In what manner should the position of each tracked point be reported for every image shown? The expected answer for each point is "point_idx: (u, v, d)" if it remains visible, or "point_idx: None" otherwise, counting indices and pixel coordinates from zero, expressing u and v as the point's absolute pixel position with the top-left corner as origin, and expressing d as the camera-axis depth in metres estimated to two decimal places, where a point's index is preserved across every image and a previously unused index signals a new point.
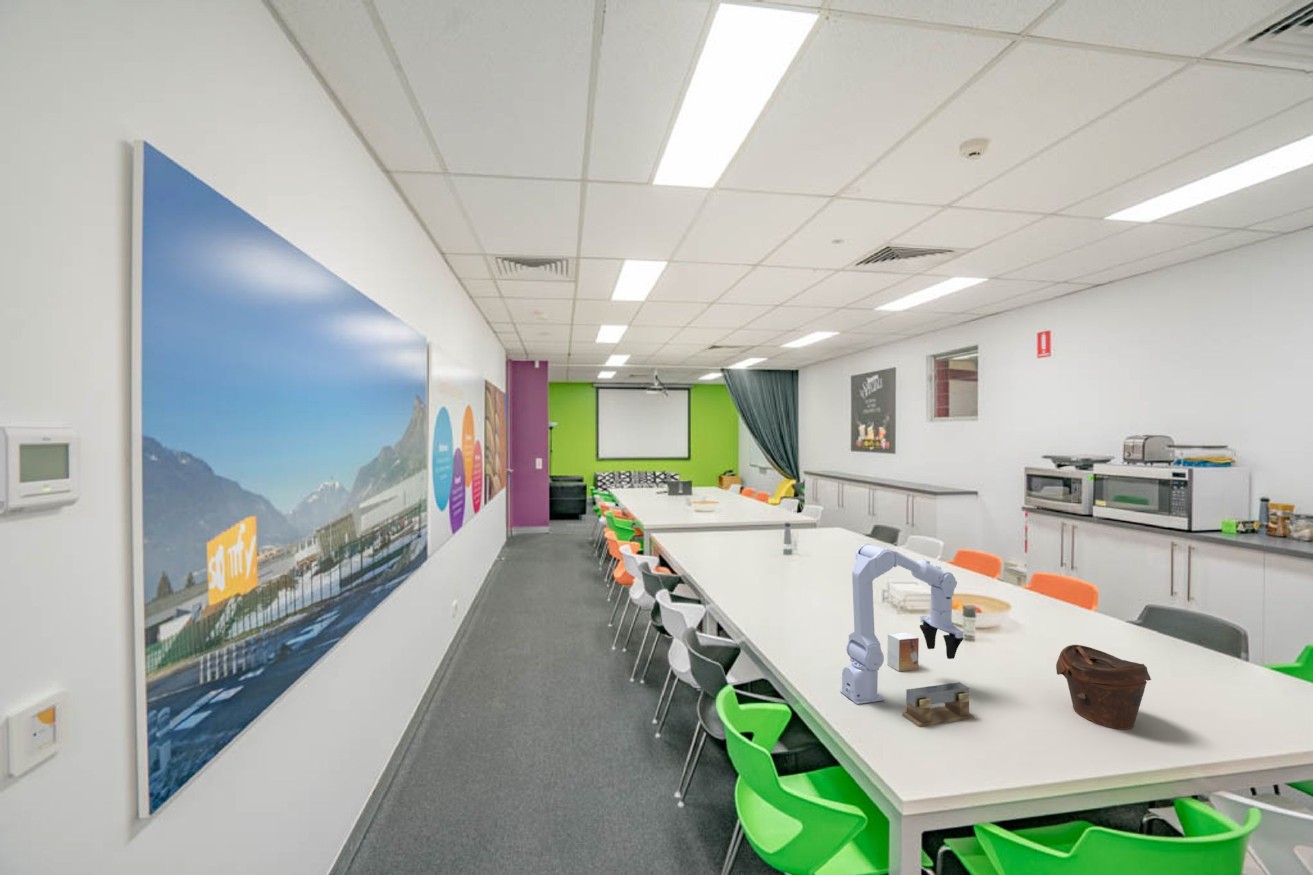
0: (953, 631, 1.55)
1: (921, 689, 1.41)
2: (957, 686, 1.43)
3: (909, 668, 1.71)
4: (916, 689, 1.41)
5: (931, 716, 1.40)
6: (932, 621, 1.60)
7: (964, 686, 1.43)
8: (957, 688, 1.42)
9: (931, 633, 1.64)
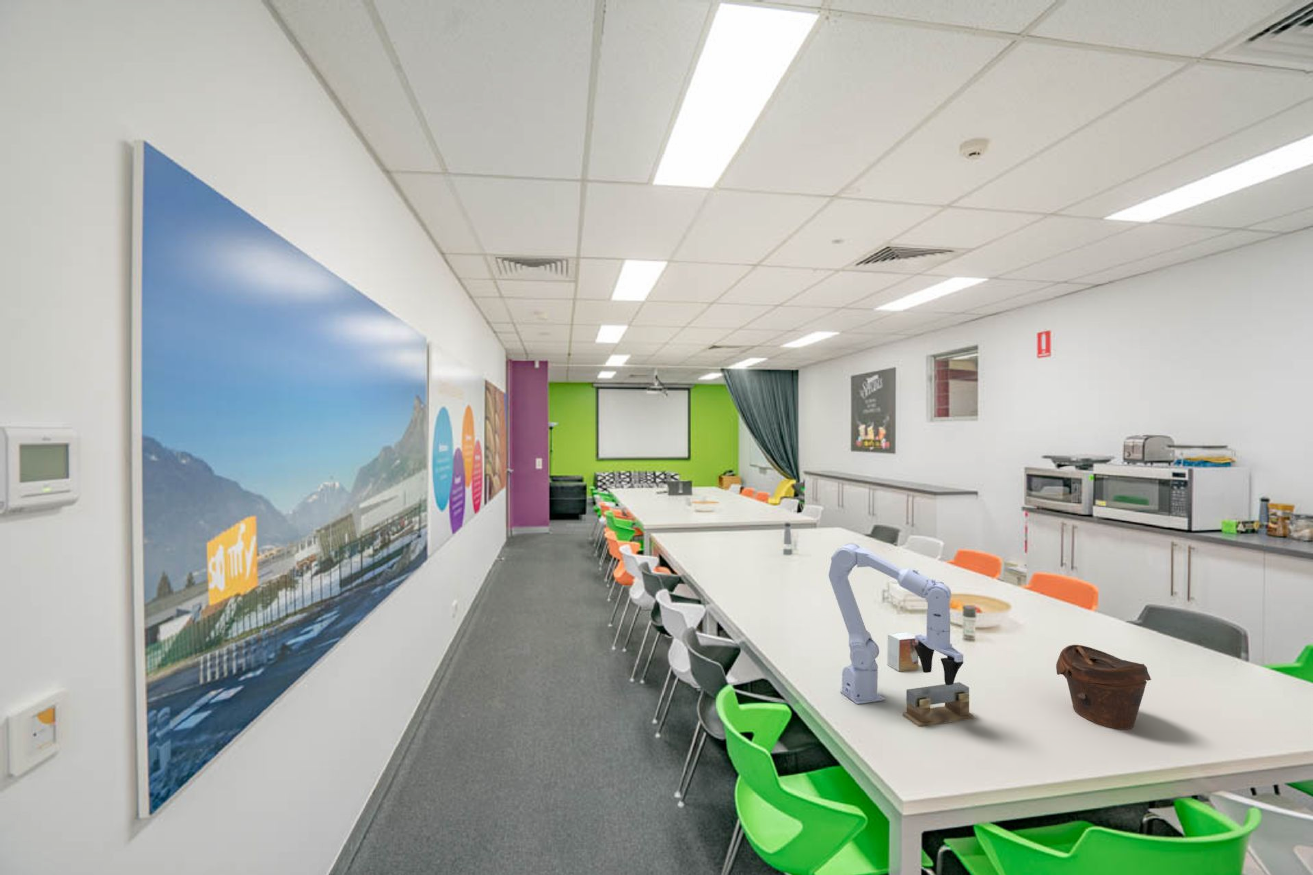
0: (952, 654, 1.36)
1: (921, 689, 1.41)
2: (957, 686, 1.43)
3: (909, 668, 1.71)
4: (916, 689, 1.41)
5: (931, 716, 1.40)
6: (928, 642, 1.42)
7: (964, 686, 1.43)
8: (957, 688, 1.42)
9: (927, 655, 1.46)
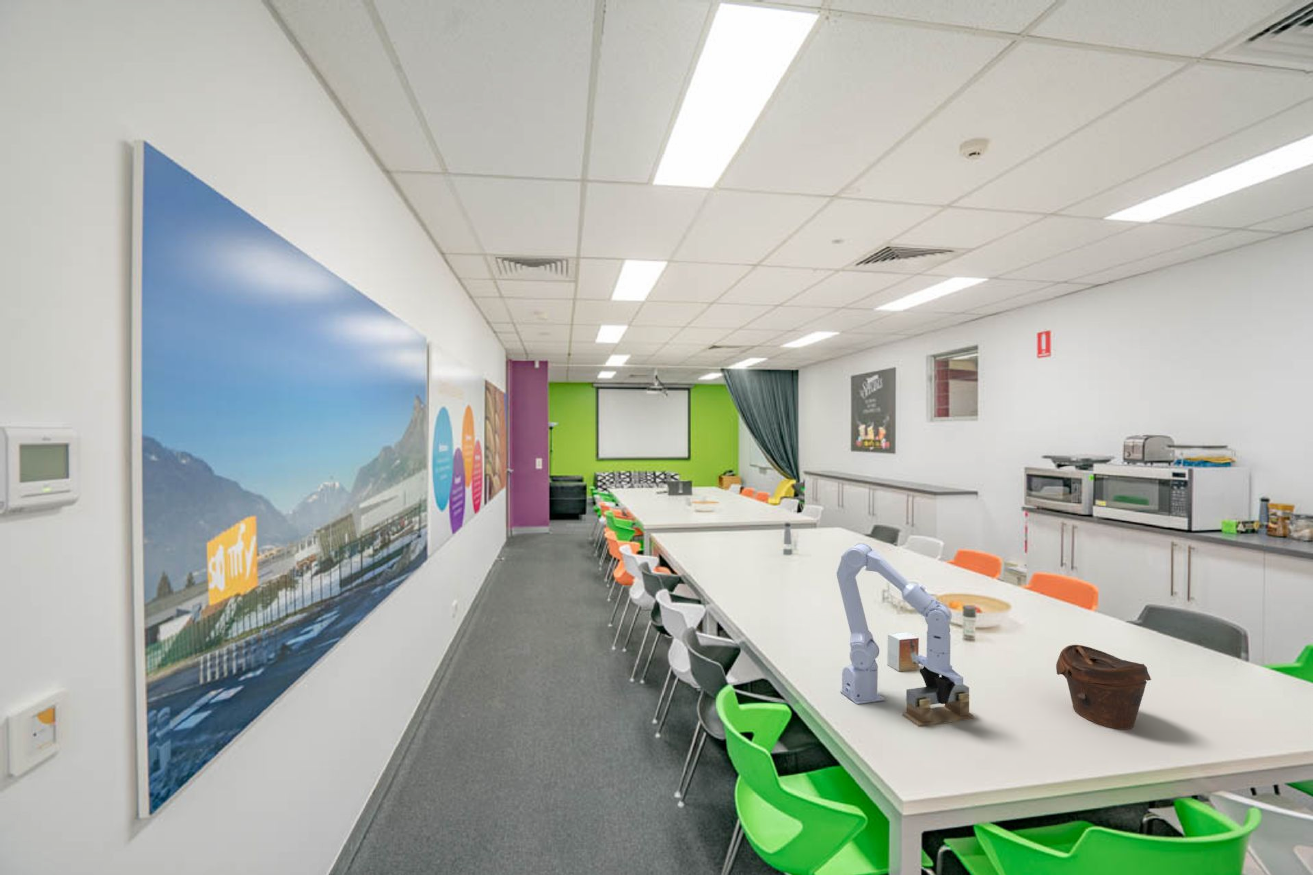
0: (952, 677, 1.36)
1: (921, 689, 1.41)
2: (957, 686, 1.43)
3: (909, 668, 1.71)
4: (916, 689, 1.41)
5: (931, 716, 1.40)
6: (928, 663, 1.42)
7: (964, 686, 1.43)
8: (957, 688, 1.42)
9: (933, 679, 1.44)
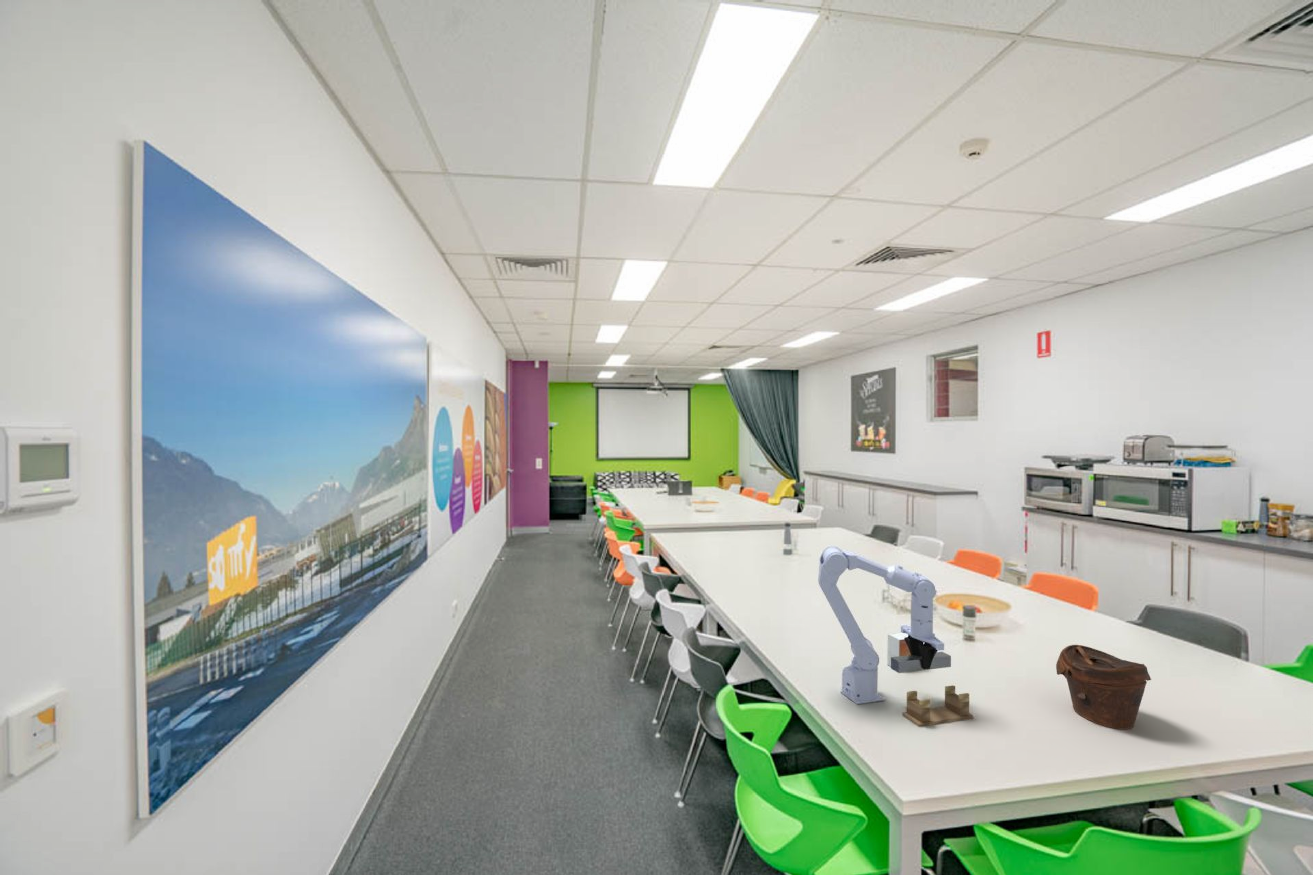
0: (933, 643, 1.44)
1: (905, 657, 1.49)
2: (939, 655, 1.51)
3: None
4: (900, 657, 1.49)
5: (931, 716, 1.40)
6: (912, 631, 1.50)
7: (946, 655, 1.51)
8: (939, 656, 1.50)
9: (916, 646, 1.52)
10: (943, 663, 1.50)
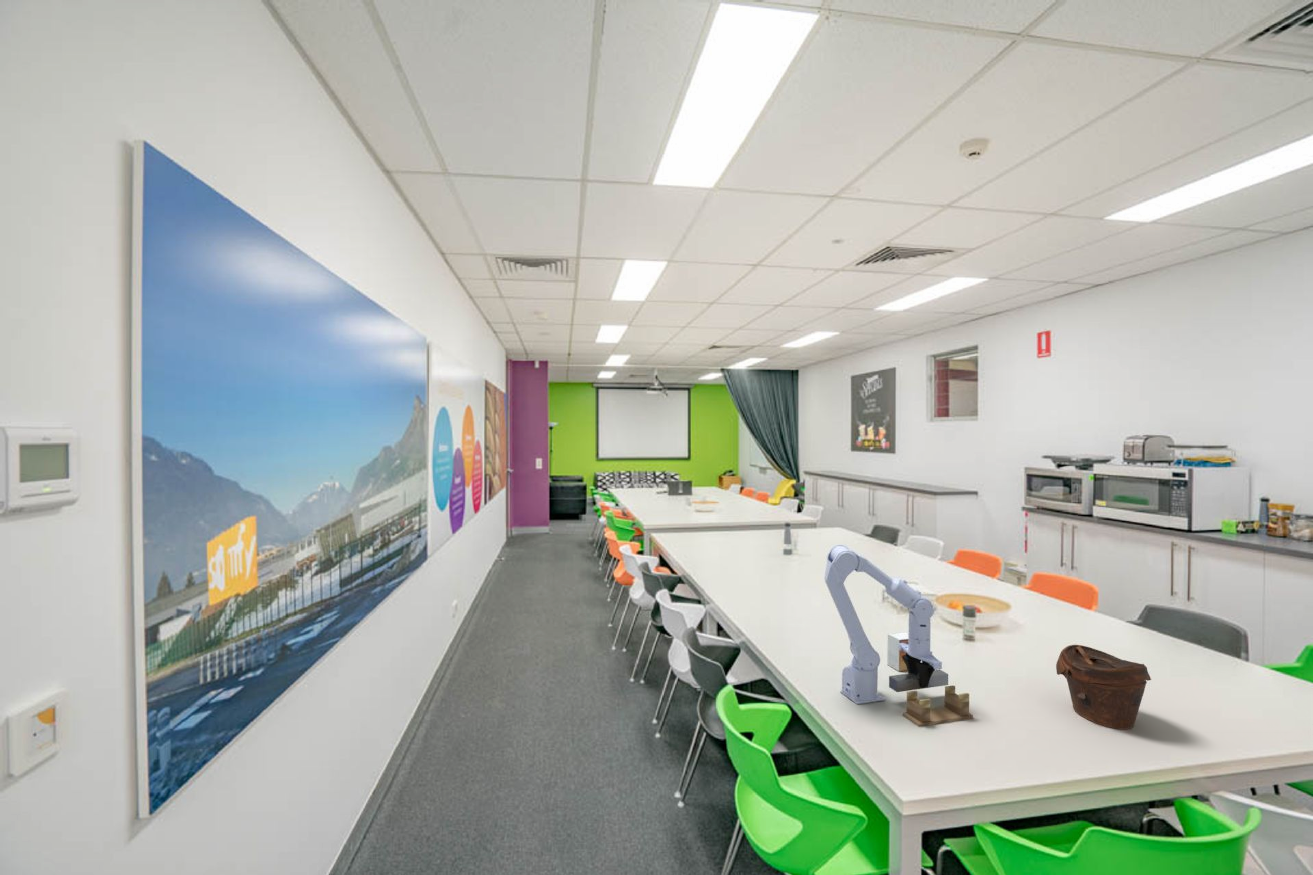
0: (931, 662, 1.45)
1: (903, 676, 1.50)
2: (937, 673, 1.52)
3: None
4: (898, 676, 1.50)
5: (931, 716, 1.40)
6: (910, 650, 1.51)
7: (944, 673, 1.52)
8: (937, 675, 1.51)
9: (914, 664, 1.53)
10: (940, 681, 1.51)
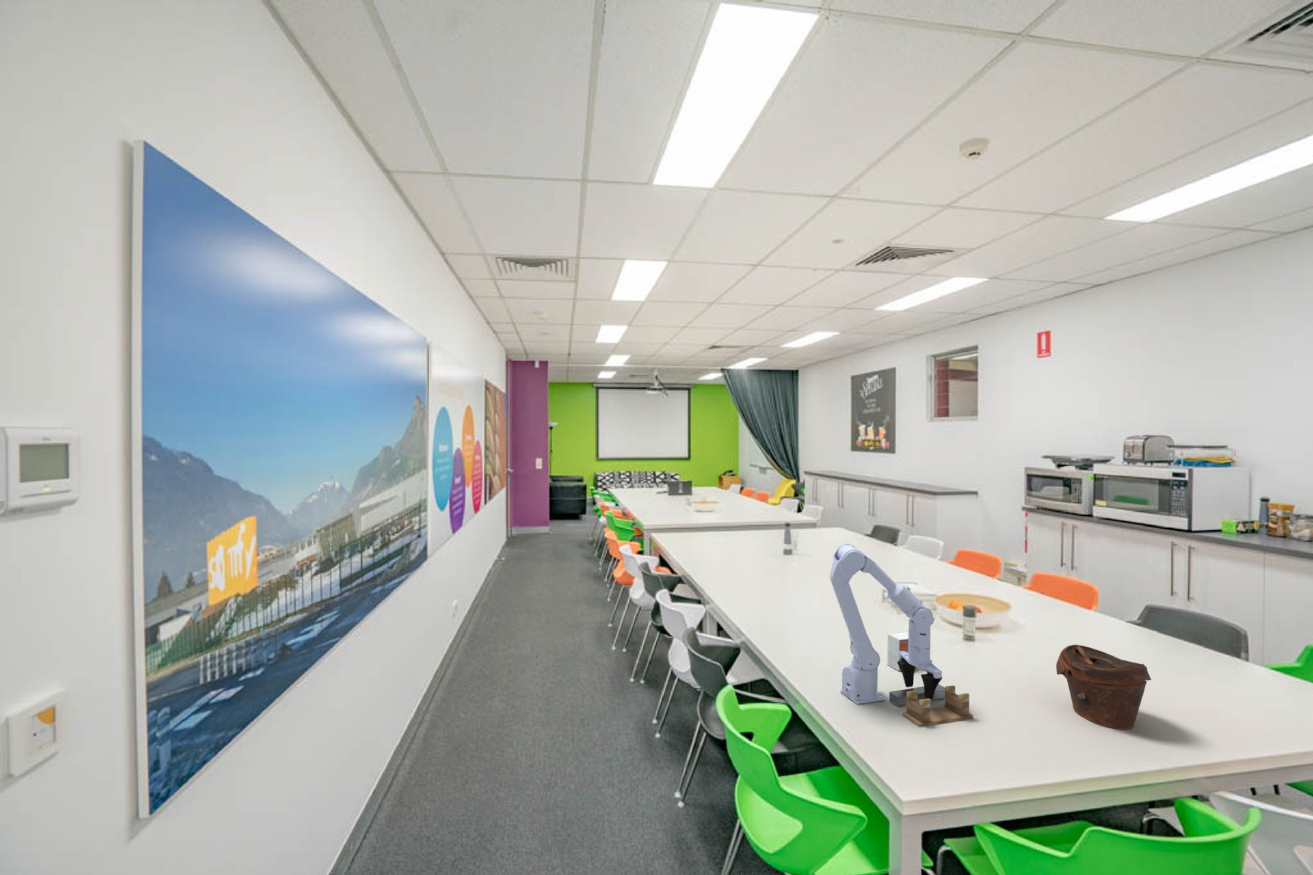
0: (931, 670, 1.45)
1: (903, 691, 1.50)
2: (936, 688, 1.53)
3: None
4: (898, 691, 1.50)
5: (931, 716, 1.40)
6: (910, 658, 1.51)
7: (943, 688, 1.52)
8: (936, 690, 1.51)
9: (909, 670, 1.55)
10: (940, 696, 1.51)
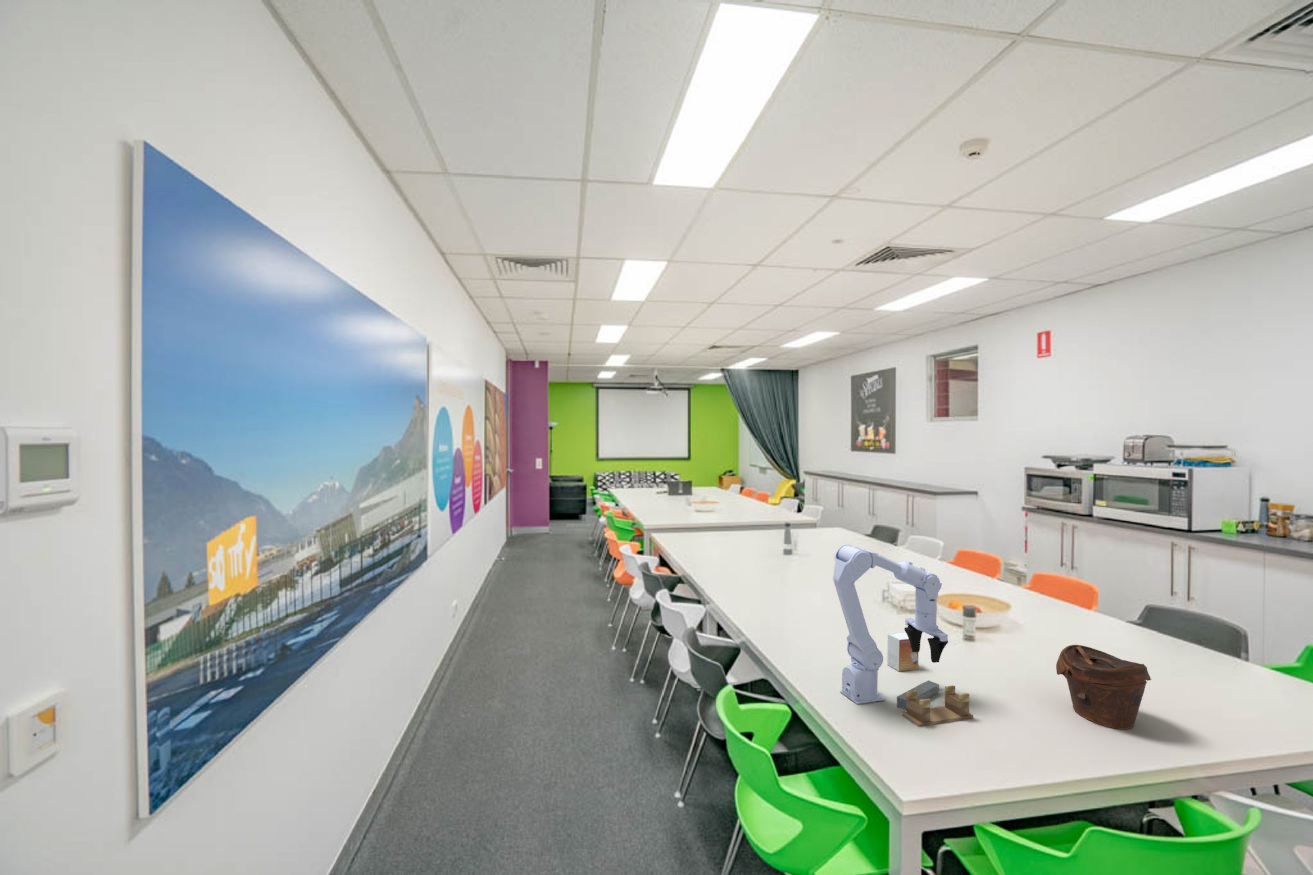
0: (937, 634, 1.51)
1: None
2: (930, 685, 1.54)
3: (909, 668, 1.71)
4: (904, 694, 1.48)
5: (931, 716, 1.40)
6: (916, 624, 1.56)
7: (935, 684, 1.55)
8: (931, 687, 1.53)
9: (916, 636, 1.60)
10: (934, 693, 1.54)
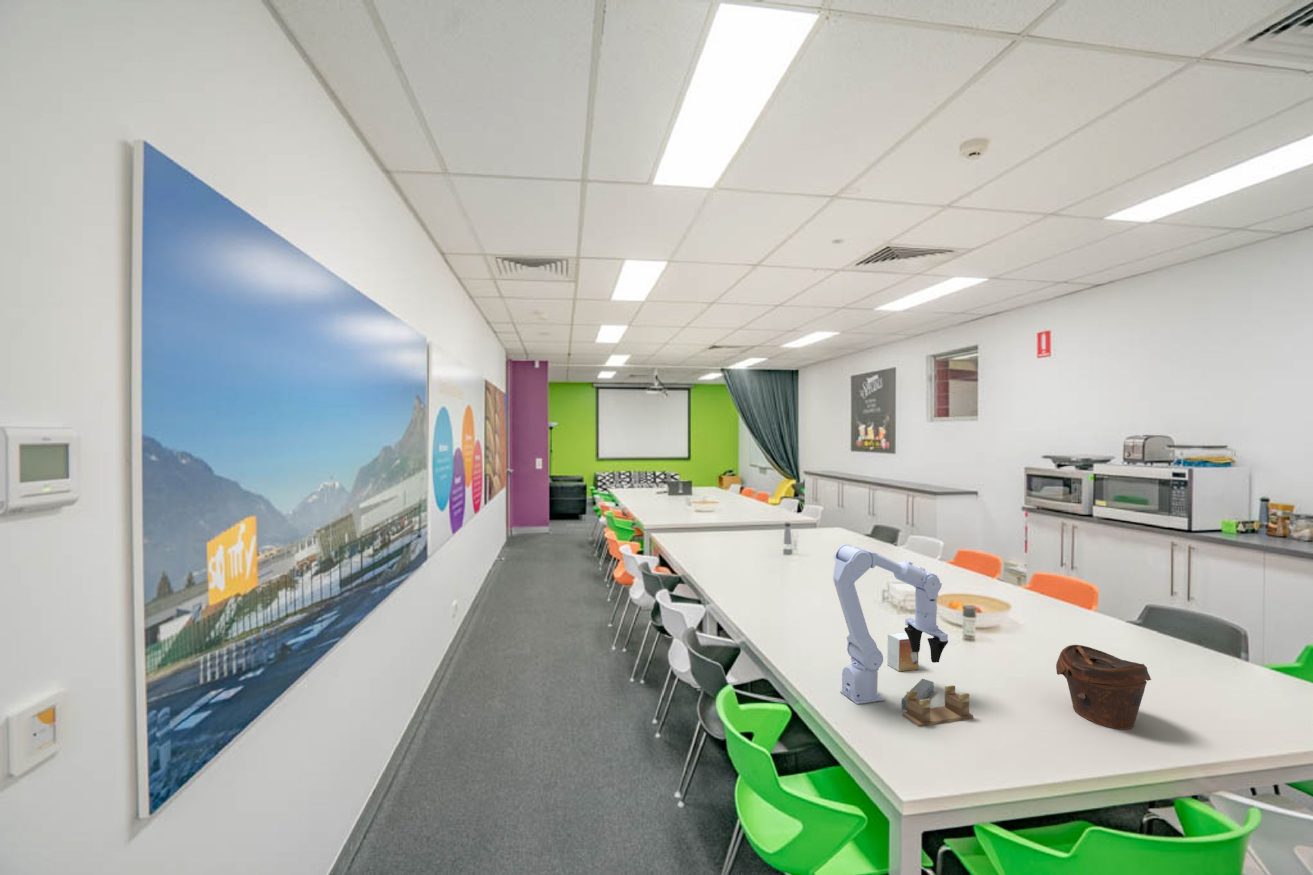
0: (937, 634, 1.51)
1: None
2: (926, 683, 1.55)
3: (909, 668, 1.71)
4: None
5: (931, 716, 1.40)
6: (916, 624, 1.56)
7: (930, 682, 1.56)
8: (928, 685, 1.54)
9: (916, 636, 1.60)
10: (930, 691, 1.55)
